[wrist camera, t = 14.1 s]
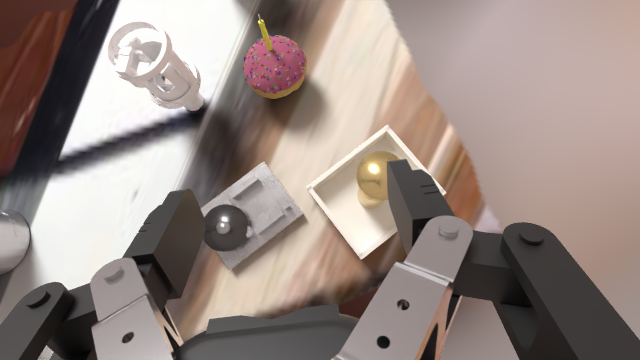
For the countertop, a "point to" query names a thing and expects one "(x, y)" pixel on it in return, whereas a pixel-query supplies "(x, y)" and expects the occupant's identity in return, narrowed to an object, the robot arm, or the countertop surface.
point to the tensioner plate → (248, 215)
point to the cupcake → (274, 65)
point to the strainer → (154, 66)
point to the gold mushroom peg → (373, 178)
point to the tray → (342, 195)
